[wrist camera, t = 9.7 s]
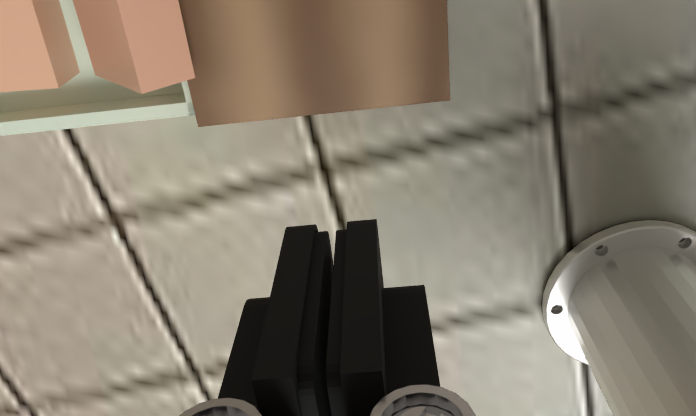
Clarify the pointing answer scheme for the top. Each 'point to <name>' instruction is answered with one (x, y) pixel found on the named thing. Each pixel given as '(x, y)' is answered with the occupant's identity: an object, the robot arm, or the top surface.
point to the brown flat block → (313, 56)
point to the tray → (87, 97)
